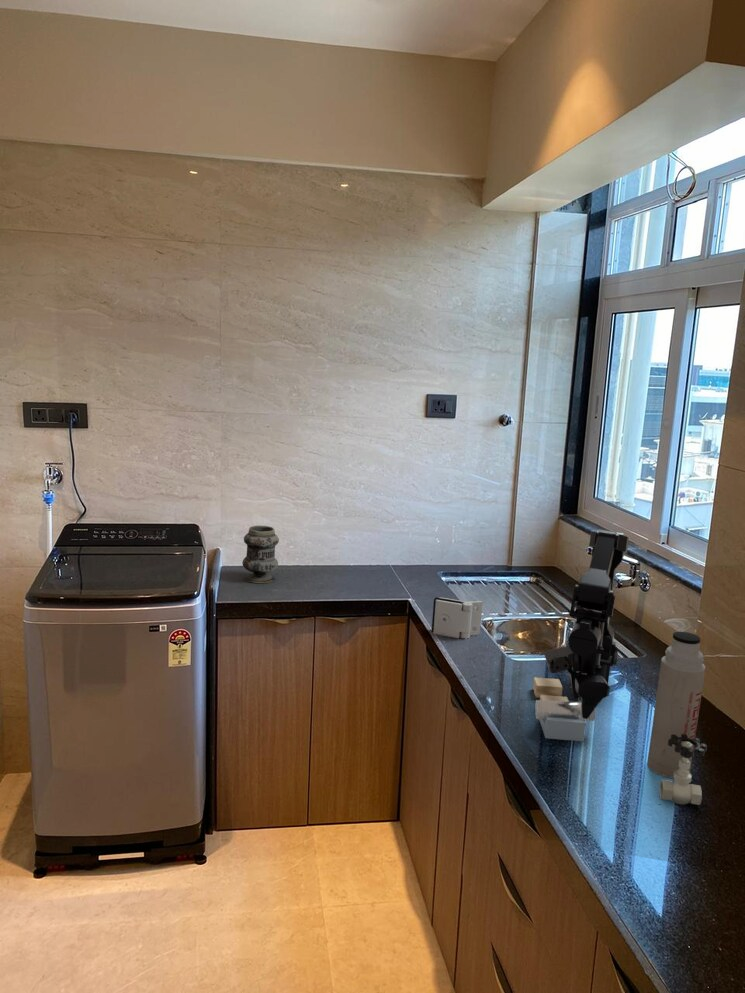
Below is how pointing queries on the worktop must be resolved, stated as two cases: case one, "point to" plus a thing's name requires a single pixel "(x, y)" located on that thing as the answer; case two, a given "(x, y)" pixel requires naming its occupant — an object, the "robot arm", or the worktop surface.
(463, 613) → the hinge
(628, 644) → the worktop surface
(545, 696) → the beam
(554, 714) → the light grey bar
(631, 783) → the worktop surface
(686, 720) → the thermos bottle
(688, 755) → the valve
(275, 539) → the apothecary jar
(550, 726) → the v block
